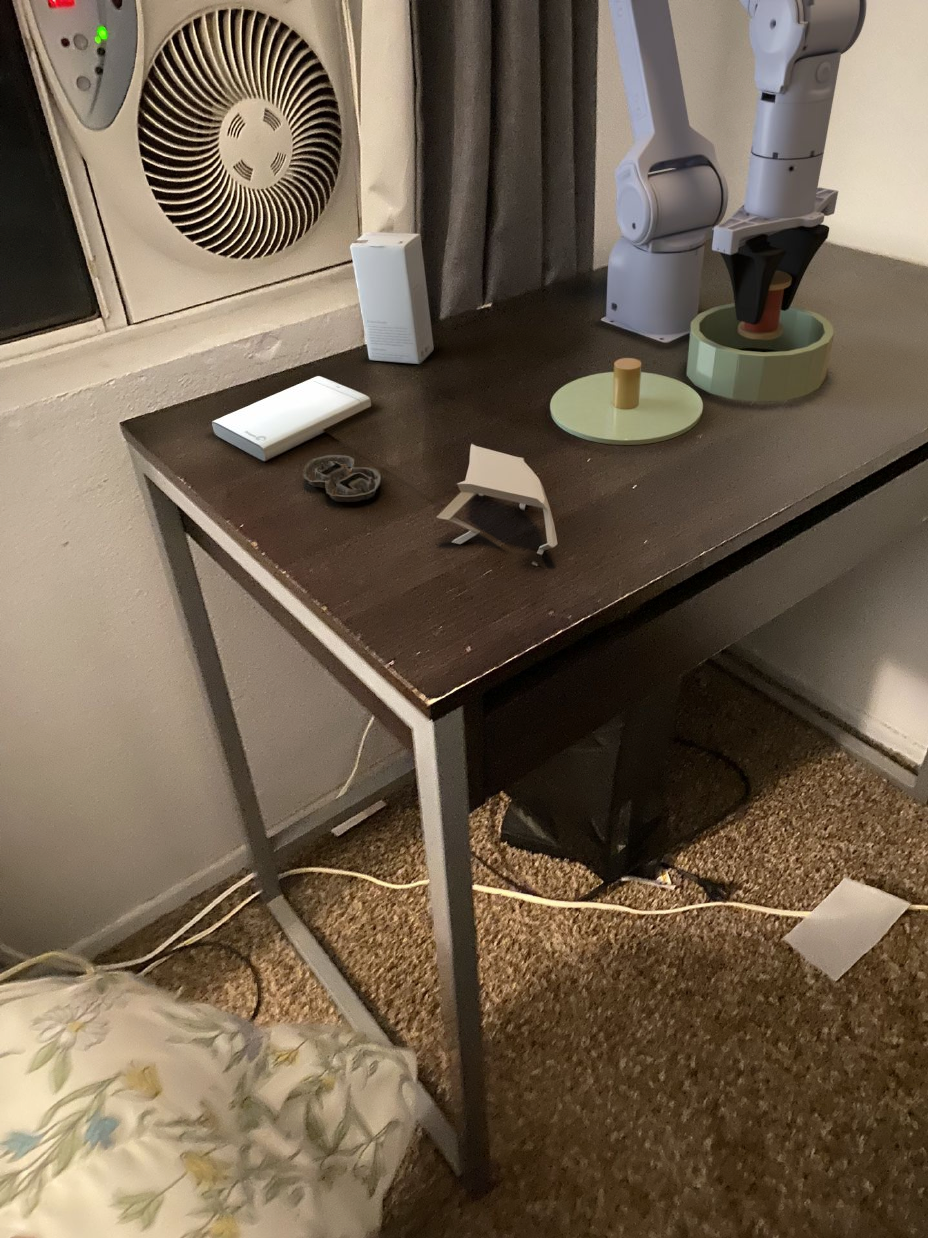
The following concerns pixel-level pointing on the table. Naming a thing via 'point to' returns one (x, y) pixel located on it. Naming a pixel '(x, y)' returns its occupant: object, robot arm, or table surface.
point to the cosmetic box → (393, 296)
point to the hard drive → (289, 417)
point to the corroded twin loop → (342, 478)
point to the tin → (759, 356)
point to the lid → (626, 406)
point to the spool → (769, 311)
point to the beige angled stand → (499, 490)
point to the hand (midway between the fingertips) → (762, 314)
